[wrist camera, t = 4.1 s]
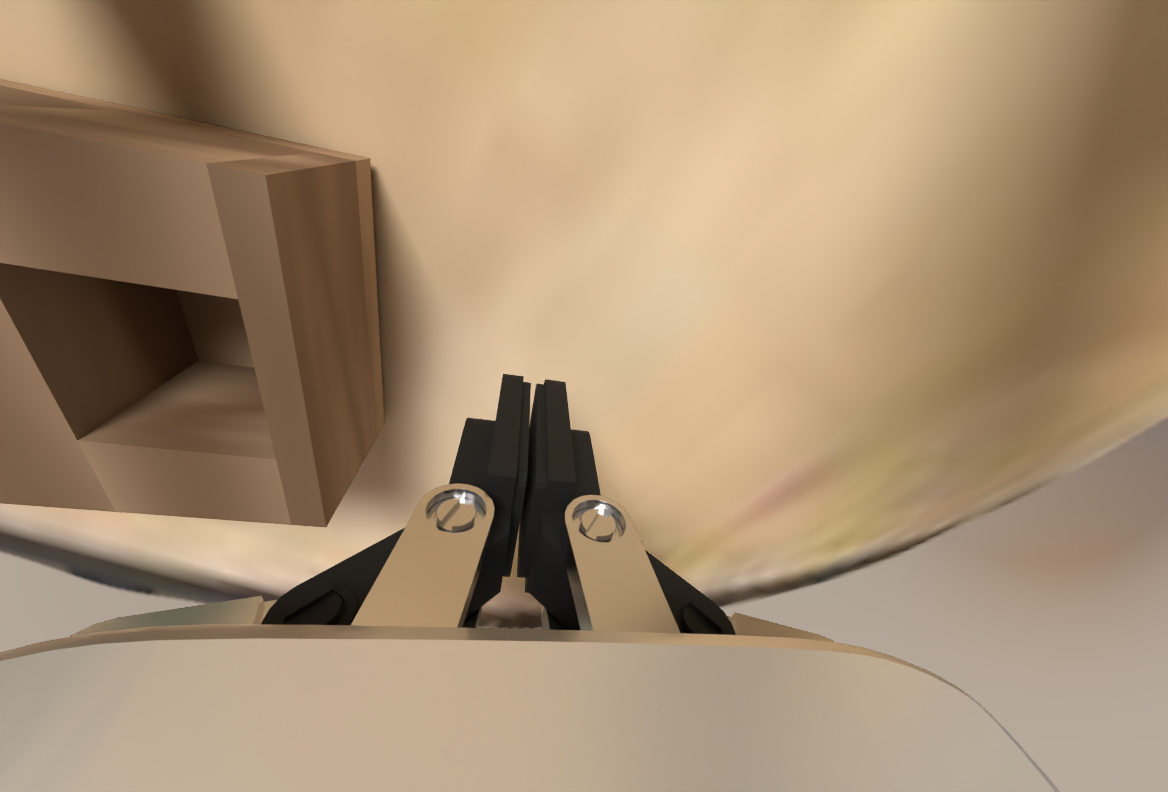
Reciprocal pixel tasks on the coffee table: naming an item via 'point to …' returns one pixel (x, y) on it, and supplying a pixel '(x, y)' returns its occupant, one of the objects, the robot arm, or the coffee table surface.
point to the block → (181, 315)
